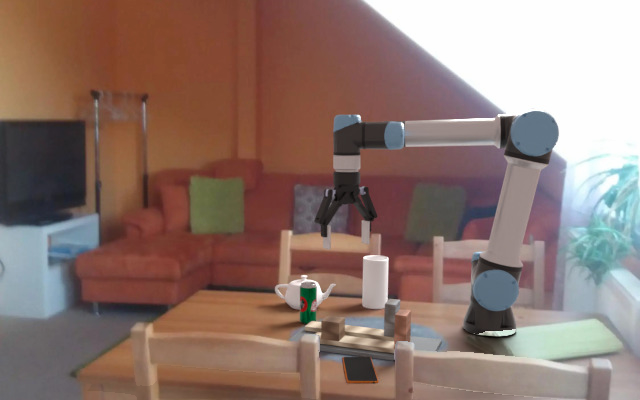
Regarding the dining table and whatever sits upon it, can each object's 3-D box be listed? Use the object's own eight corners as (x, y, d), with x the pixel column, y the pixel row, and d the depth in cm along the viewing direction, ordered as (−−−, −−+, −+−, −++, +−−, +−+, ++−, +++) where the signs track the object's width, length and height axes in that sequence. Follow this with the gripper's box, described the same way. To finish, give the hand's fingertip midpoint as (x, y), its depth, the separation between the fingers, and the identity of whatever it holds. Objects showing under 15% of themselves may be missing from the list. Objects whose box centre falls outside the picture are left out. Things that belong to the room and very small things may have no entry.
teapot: (337, 302, 228) (337, 272, 227) (334, 312, 216) (334, 281, 215) (278, 299, 230) (278, 270, 229) (271, 310, 218) (271, 279, 217)
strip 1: (399, 335, 190) (400, 299, 189) (394, 341, 185) (395, 304, 183) (311, 324, 199) (312, 290, 197) (304, 330, 193) (305, 295, 192)
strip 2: (410, 347, 180) (411, 310, 179) (405, 354, 175) (406, 316, 173) (317, 336, 189) (317, 300, 187) (310, 342, 183) (310, 305, 182)
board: (441, 343, 188) (441, 339, 188) (429, 365, 171) (429, 361, 171) (308, 326, 201) (308, 323, 201) (285, 346, 184) (285, 342, 184)
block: (344, 335, 185) (345, 317, 185) (338, 341, 181) (339, 323, 180) (327, 333, 187) (327, 315, 186) (321, 339, 182) (321, 320, 182)
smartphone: (370, 359, 176) (371, 356, 176) (378, 384, 159) (378, 381, 159) (341, 359, 176) (341, 355, 176) (346, 384, 159) (346, 381, 159)
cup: (367, 309, 219) (368, 261, 217) (358, 303, 227) (359, 255, 225) (391, 308, 222) (392, 259, 220) (382, 301, 229) (383, 254, 227)
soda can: (314, 325, 203) (314, 285, 201) (297, 323, 204) (298, 284, 202) (317, 320, 208) (318, 281, 206) (301, 319, 209) (302, 280, 207)
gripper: (373, 167, 200) (372, 239, 202) (301, 171, 185) (302, 248, 188) (390, 169, 193) (389, 243, 196) (317, 173, 179) (317, 253, 182)
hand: (346, 246), depth 192 cm, fingers open, 13 cm apart
